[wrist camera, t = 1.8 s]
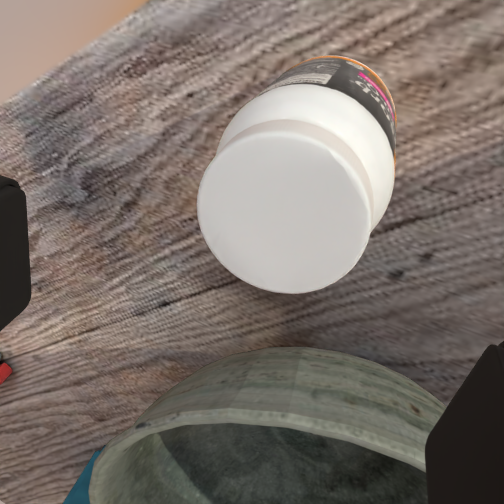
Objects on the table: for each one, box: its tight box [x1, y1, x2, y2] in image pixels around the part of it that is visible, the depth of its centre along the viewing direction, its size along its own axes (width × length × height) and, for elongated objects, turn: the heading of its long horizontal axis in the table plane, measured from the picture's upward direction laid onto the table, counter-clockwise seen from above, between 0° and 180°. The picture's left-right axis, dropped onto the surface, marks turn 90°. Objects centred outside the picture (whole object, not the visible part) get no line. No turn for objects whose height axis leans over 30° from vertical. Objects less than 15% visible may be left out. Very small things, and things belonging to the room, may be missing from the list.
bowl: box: [89, 347, 447, 504], centre depth 25 cm, size 21×21×10 cm
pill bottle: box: [197, 56, 396, 294], centre depth 16 cm, size 6×6×10 cm
